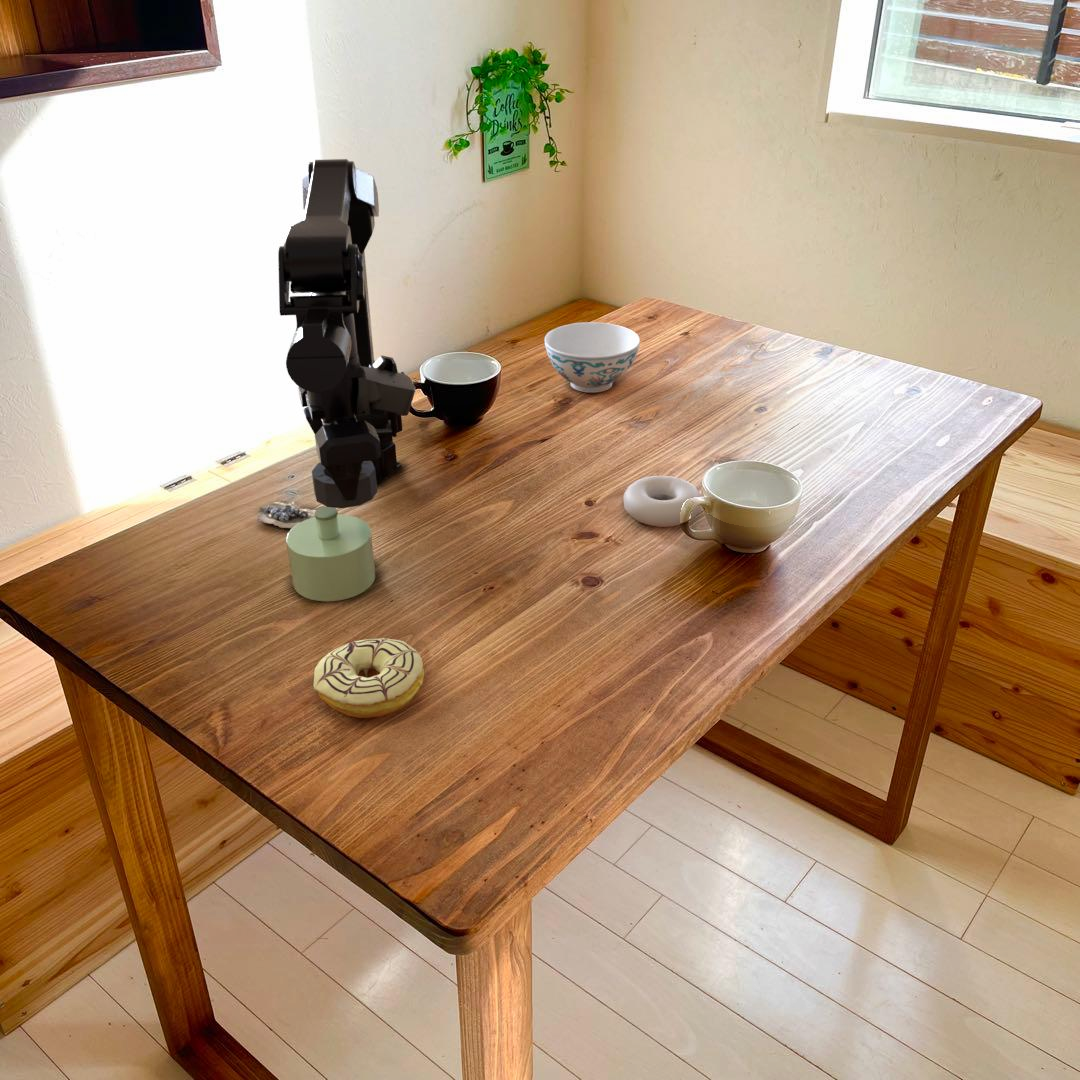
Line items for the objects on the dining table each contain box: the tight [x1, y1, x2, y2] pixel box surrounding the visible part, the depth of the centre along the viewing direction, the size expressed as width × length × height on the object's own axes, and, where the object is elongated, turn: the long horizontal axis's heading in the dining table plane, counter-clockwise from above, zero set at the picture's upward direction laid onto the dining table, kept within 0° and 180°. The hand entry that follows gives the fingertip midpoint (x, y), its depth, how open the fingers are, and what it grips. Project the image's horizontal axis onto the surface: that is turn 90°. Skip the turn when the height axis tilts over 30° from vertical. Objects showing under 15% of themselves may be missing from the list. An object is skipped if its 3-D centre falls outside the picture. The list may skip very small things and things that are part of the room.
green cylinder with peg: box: [285, 506, 376, 602], centre depth 127 cm, size 10×10×9 cm
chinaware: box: [543, 321, 641, 393], centre depth 175 cm, size 15×15×8 cm
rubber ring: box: [311, 461, 378, 509], centre depth 123 cm, size 7×7×3 cm
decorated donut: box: [313, 637, 425, 719], centre depth 111 cm, size 10×11×4 cm
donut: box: [622, 475, 702, 528], centre depth 141 cm, size 10×4×10 cm
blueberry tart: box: [256, 500, 317, 530], centre depth 141 cm, size 7×8×2 cm
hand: (345, 485), depth 124 cm, fingers closed on rubber ring, 7 cm apart
